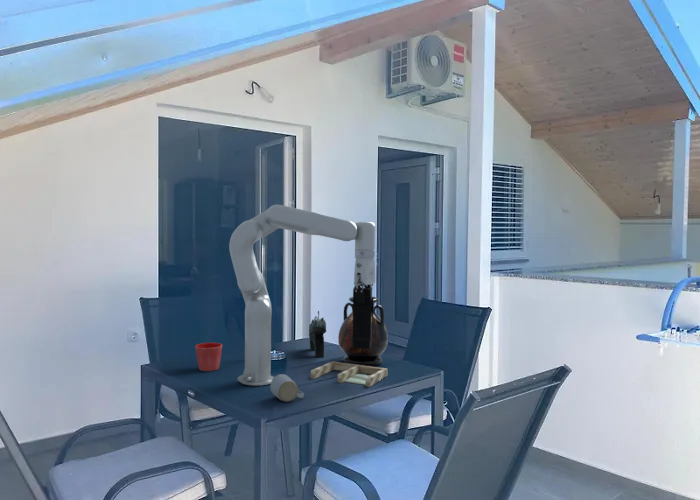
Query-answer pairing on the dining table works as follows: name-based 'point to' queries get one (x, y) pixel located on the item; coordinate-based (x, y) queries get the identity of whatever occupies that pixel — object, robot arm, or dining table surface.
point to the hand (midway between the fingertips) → (363, 301)
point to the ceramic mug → (285, 388)
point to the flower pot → (208, 356)
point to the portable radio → (363, 320)
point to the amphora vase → (378, 338)
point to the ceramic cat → (317, 336)
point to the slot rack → (352, 373)
